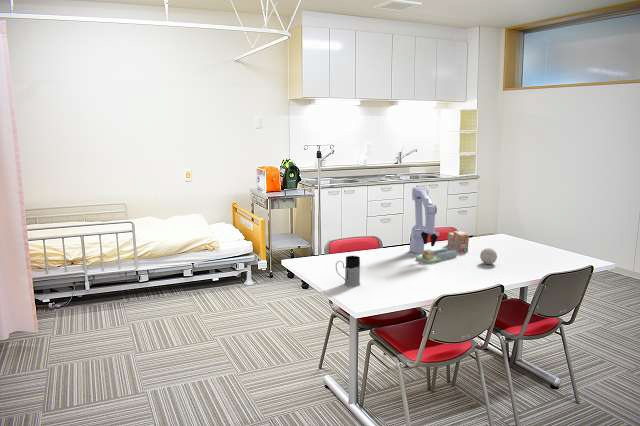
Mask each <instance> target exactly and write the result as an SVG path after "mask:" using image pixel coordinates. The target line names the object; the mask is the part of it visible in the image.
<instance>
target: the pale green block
mask: <svg viewBox="0 0 640 426" xmlns="http://www.w3.org/2000/svg"><path fill="white" fill-rule="evenodd" d="M433 251H434V258H433V259H429V260H428V259H424V258H422V255H418V256H416V257H415V260H416V261H418V262H420V263H421V262H422V263H425V264H428V265H433V264H438V263H441V262H442V261H446V260H449V259H454V258H457V250H455V249H454V250H452V251H449V247H448V248H441V249H435V250H433Z"/></svg>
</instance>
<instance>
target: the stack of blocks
mask: <svg viewBox="0 0 640 426" xmlns="http://www.w3.org/2000/svg"><path fill="white" fill-rule="evenodd" d="M469 241H470V234H468V233H466V232H464V231H462V230H454V231H453V232H447V246H449V247H450V248H451V249H453V248H454V251H455V250H456V252H458V253H468V252H469Z"/></svg>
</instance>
